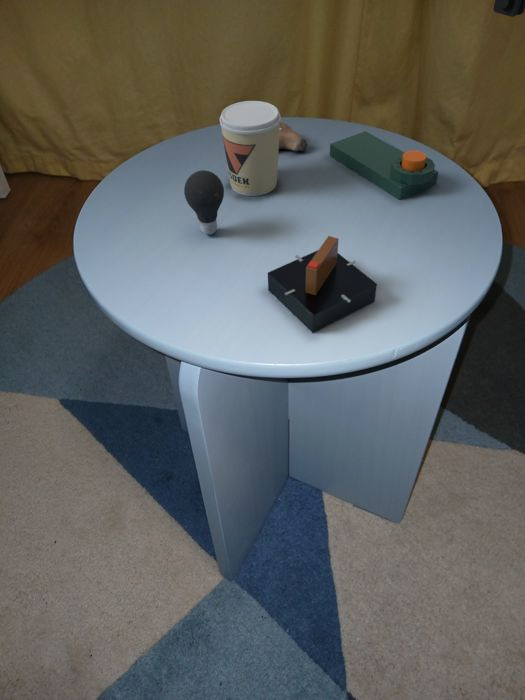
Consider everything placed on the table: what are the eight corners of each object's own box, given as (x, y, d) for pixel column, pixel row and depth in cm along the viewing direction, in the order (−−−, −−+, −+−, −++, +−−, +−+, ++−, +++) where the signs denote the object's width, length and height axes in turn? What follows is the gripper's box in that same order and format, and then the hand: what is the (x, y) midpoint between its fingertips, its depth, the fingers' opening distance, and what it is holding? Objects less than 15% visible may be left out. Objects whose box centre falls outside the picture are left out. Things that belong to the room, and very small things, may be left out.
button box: (441, 187, 90) (446, 164, 87) (404, 203, 87) (408, 180, 84) (364, 142, 101) (366, 121, 98) (329, 155, 98) (330, 133, 95)
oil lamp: (268, 165, 98) (309, 157, 100) (268, 145, 95) (311, 137, 97) (251, 138, 103) (291, 130, 105) (251, 118, 100) (292, 110, 102)
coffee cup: (214, 183, 93) (207, 112, 85) (258, 164, 97) (255, 94, 88) (248, 205, 88) (244, 132, 80) (293, 184, 92) (293, 113, 83)
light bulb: (185, 241, 82) (174, 180, 75) (199, 220, 86) (190, 160, 79) (220, 247, 81) (213, 185, 74) (233, 225, 85) (227, 165, 77)
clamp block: (381, 302, 72) (384, 283, 69) (311, 338, 68) (312, 319, 65) (328, 259, 78) (329, 240, 76) (261, 289, 74) (260, 270, 72)
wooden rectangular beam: (326, 260, 73) (328, 234, 70) (336, 263, 73) (338, 236, 70) (305, 292, 69) (305, 265, 66) (315, 295, 68) (316, 268, 65)
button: (429, 167, 87) (431, 156, 86) (412, 174, 86) (414, 163, 85) (413, 158, 89) (415, 147, 88) (396, 165, 88) (398, 154, 87)
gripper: (576, -208, 58) (523, -6, 71) (476, -198, 53) (439, 18, 66) (645, -209, 53) (575, 7, 67) (543, -197, 48) (489, 34, 62)
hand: (507, 12), depth 66 cm, fingers closed
